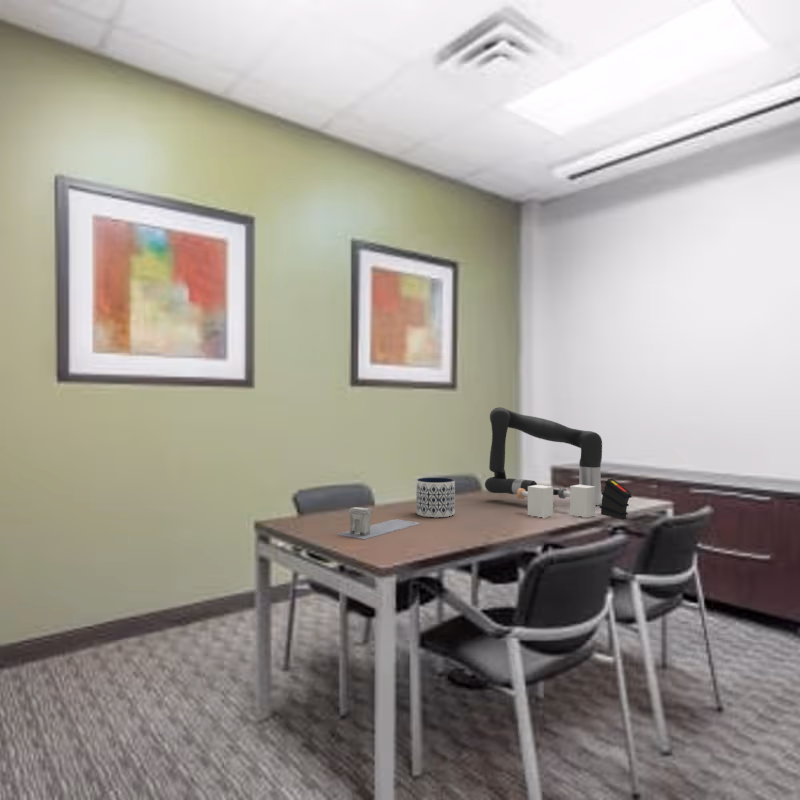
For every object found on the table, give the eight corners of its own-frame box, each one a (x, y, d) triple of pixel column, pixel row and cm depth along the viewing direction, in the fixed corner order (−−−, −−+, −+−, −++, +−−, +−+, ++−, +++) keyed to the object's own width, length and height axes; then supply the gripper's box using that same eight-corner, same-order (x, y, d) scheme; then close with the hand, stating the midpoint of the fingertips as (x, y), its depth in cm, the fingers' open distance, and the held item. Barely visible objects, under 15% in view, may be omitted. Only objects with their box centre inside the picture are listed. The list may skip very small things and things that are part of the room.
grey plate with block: (337, 535, 209) (337, 508, 209) (395, 520, 236) (395, 496, 236) (364, 541, 202) (364, 512, 202) (421, 524, 228) (421, 499, 228)
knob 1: (523, 497, 253) (523, 487, 253) (539, 500, 247) (539, 489, 247) (516, 499, 250) (516, 488, 250) (533, 501, 244) (533, 491, 244)
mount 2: (579, 512, 251) (579, 484, 251) (595, 515, 245) (595, 486, 245) (569, 515, 246) (570, 486, 246) (586, 517, 241) (586, 488, 241)
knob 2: (563, 497, 255) (563, 487, 255) (581, 500, 248) (581, 489, 248) (558, 498, 252) (558, 488, 252) (576, 501, 245) (576, 490, 245)
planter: (412, 511, 253) (413, 477, 253) (449, 510, 256) (449, 476, 256) (420, 518, 238) (421, 482, 238) (459, 517, 241) (459, 482, 241)
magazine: (600, 508, 253) (612, 478, 247) (622, 526, 242) (636, 496, 237) (594, 508, 251) (606, 478, 245) (616, 527, 241) (629, 496, 235)
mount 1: (537, 513, 250) (537, 484, 250) (553, 516, 244) (553, 486, 244) (527, 515, 245) (527, 486, 245) (543, 518, 239) (543, 488, 239)
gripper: (515, 481, 263) (549, 485, 250) (533, 478, 272) (566, 482, 259) (515, 498, 263) (549, 503, 250) (533, 494, 272) (566, 499, 259)
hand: (558, 492), depth 254 cm, fingers closed
